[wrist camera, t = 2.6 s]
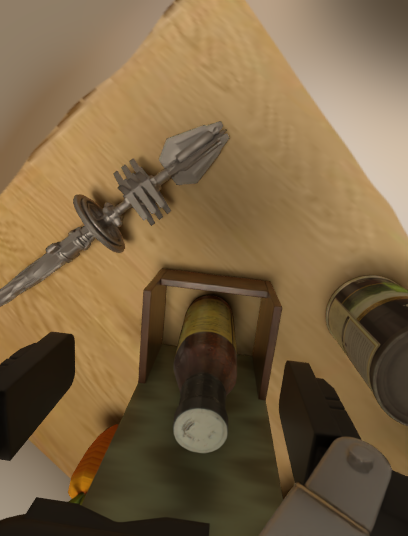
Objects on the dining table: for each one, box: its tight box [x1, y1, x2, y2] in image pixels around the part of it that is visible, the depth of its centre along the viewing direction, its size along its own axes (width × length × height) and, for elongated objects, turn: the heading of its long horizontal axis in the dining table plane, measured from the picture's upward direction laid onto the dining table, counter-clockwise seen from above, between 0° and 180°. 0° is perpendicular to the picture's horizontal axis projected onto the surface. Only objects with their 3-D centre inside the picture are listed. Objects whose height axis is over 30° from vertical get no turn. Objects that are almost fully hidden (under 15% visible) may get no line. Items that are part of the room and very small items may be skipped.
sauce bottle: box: [173, 295, 237, 453], centre depth 32 cm, size 7×6×20 cm
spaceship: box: [0, 121, 229, 307], centre depth 35 cm, size 8×35×8 cm
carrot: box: [68, 424, 118, 505], centre depth 39 cm, size 5×5×15 cm
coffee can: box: [326, 276, 408, 426], centre depth 33 cm, size 10×10×14 cm
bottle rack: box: [82, 268, 283, 536], centre depth 29 cm, size 14×12×25 cm
